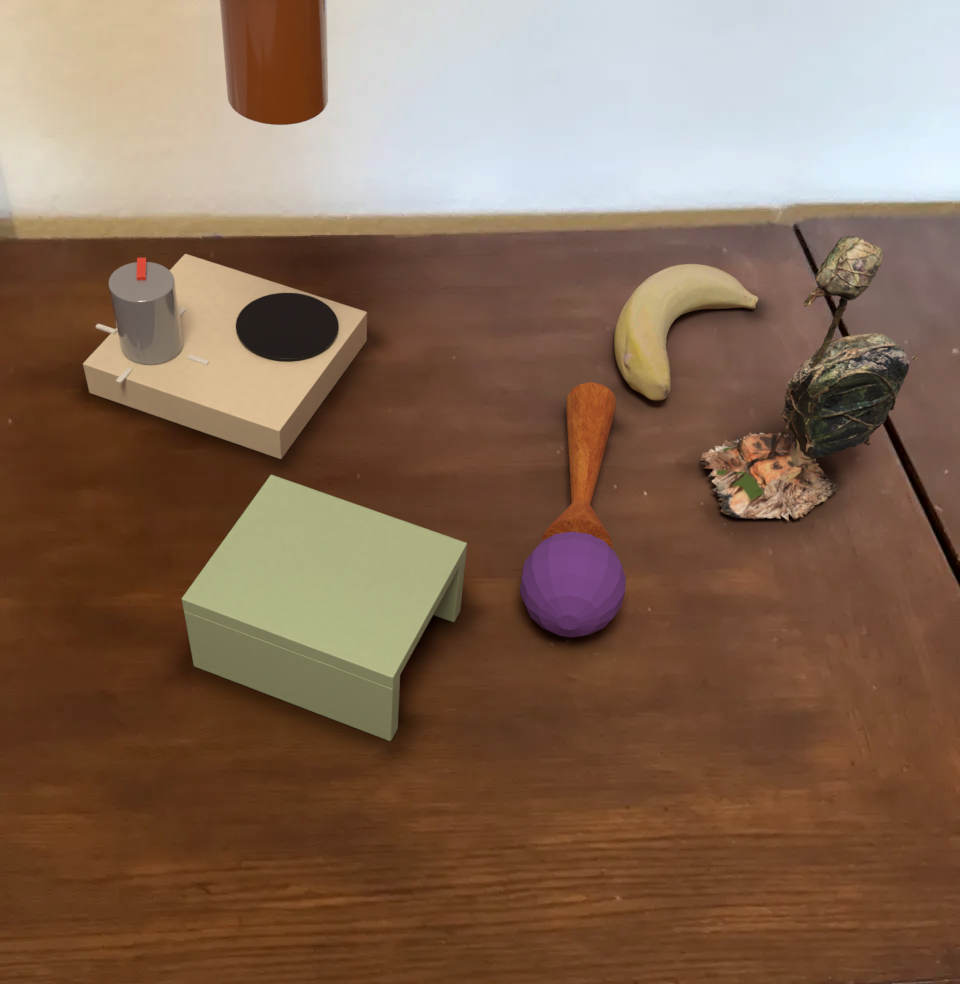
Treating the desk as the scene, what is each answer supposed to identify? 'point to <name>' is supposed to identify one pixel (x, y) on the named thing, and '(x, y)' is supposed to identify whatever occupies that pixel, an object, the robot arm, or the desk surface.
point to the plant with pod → (816, 405)
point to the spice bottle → (276, 58)
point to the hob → (226, 365)
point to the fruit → (668, 320)
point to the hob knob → (146, 312)
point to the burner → (287, 327)
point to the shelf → (322, 603)
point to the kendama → (578, 534)
